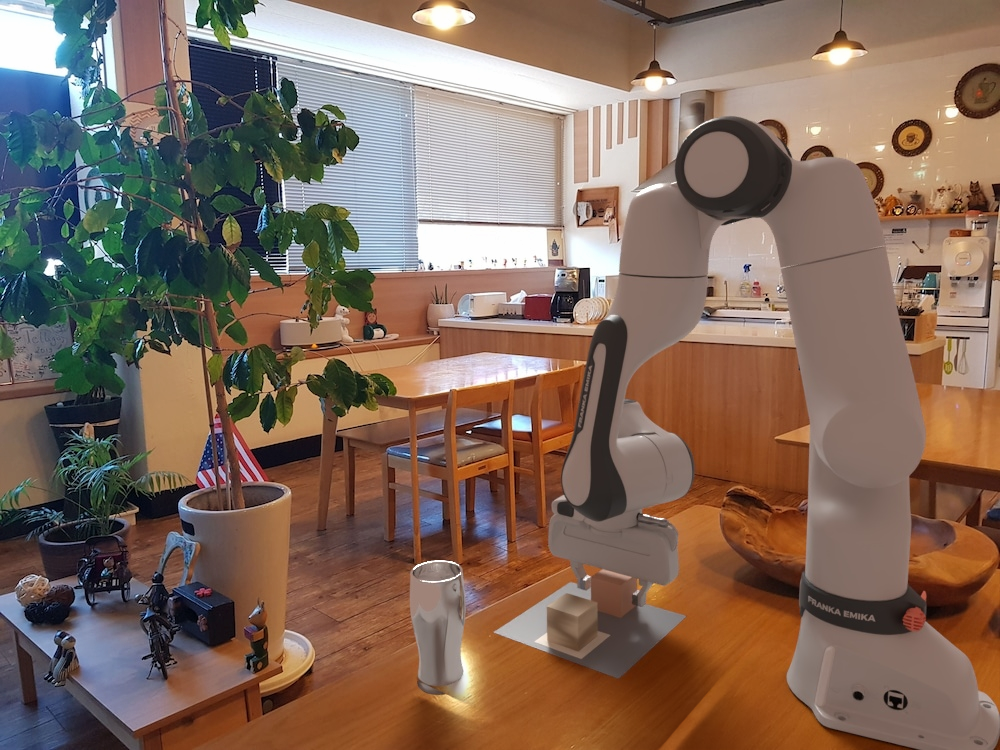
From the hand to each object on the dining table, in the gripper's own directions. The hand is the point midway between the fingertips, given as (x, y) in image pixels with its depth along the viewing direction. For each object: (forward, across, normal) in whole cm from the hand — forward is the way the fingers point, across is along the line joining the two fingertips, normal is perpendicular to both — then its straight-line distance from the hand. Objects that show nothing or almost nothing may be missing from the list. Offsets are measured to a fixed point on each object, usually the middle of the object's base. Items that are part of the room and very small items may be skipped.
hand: (610, 596), depth 112 cm
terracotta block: (+2, 0, 0) cm, 2 cm away
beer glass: (+3, +9, +28) cm, 30 cm away
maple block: (+2, 0, +11) cm, 11 cm away
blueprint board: (+3, 0, +6) cm, 7 cm away
